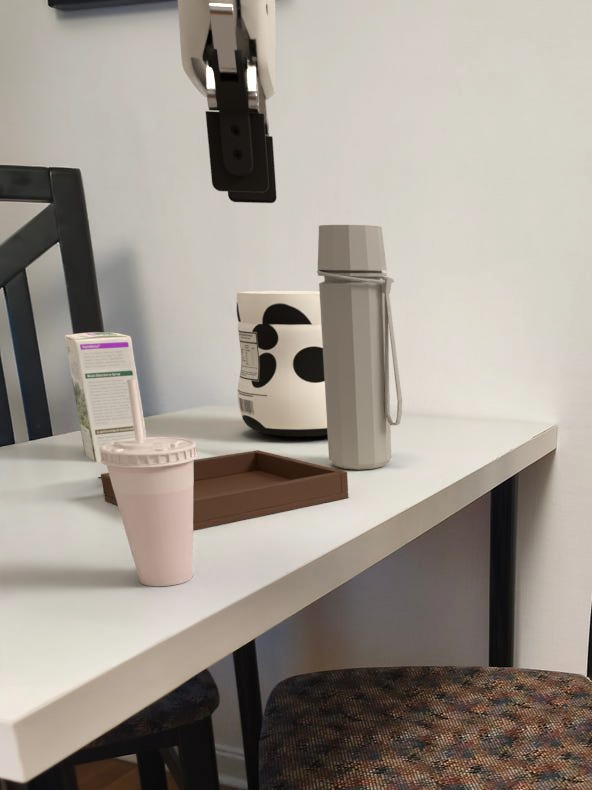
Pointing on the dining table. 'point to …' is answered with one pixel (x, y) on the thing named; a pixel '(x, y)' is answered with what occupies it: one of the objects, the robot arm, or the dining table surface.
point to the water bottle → (356, 345)
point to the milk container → (281, 363)
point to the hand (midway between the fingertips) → (247, 197)
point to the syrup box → (102, 387)
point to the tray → (254, 486)
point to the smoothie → (154, 499)
